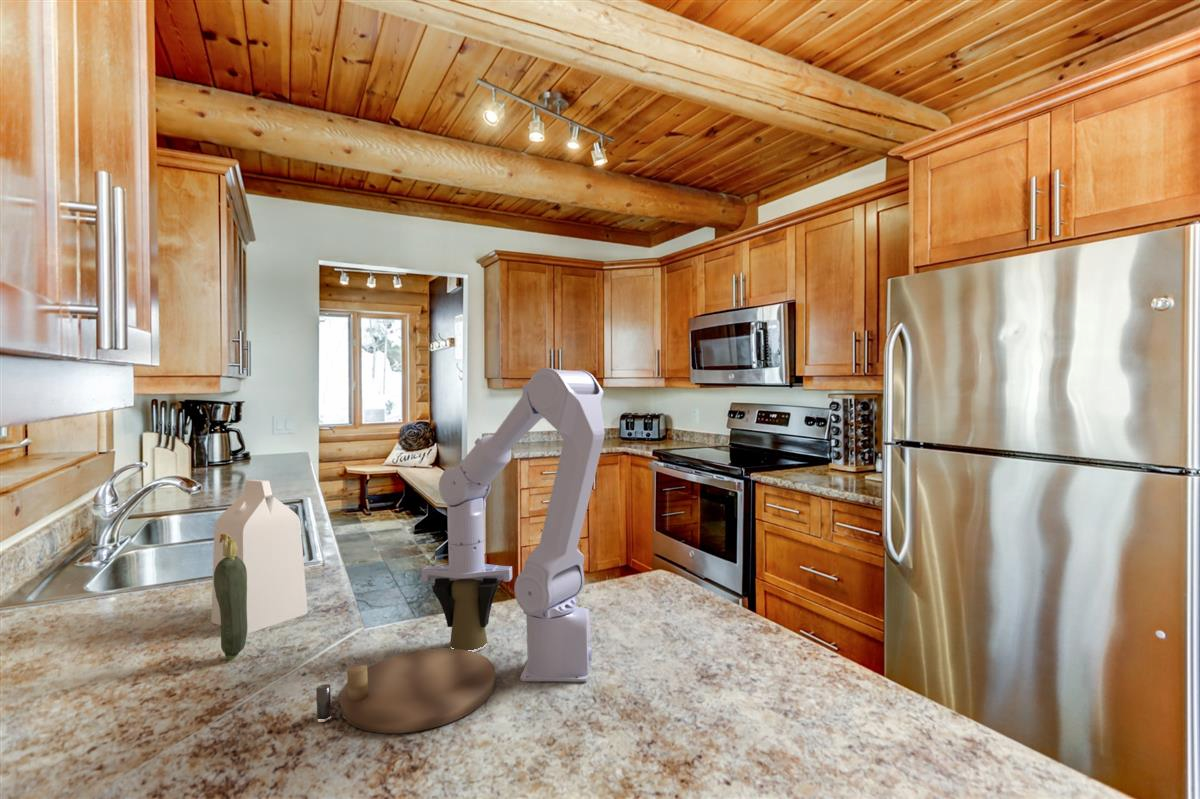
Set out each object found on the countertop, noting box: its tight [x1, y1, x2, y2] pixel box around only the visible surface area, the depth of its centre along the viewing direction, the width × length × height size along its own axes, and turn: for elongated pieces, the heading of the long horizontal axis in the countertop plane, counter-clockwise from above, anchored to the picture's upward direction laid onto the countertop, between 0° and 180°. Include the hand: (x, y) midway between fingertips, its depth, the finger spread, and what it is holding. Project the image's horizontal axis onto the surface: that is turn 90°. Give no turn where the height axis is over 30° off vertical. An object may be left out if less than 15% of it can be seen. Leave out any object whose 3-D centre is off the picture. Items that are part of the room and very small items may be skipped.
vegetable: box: [214, 533, 248, 661], centre depth 89 cm, size 4×4×20 cm
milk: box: [211, 478, 309, 635], centre depth 108 cm, size 12×12×26 cm
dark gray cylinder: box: [315, 683, 332, 719], centre depth 77 cm, size 17×14×4 cm
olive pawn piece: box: [449, 579, 488, 651], centre depth 93 cm, size 6×6×11 cm
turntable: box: [340, 648, 496, 734], centre depth 78 cm, size 20×20×5 cm
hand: (468, 624), depth 93 cm, fingers closed on olive pawn piece, 5 cm apart
